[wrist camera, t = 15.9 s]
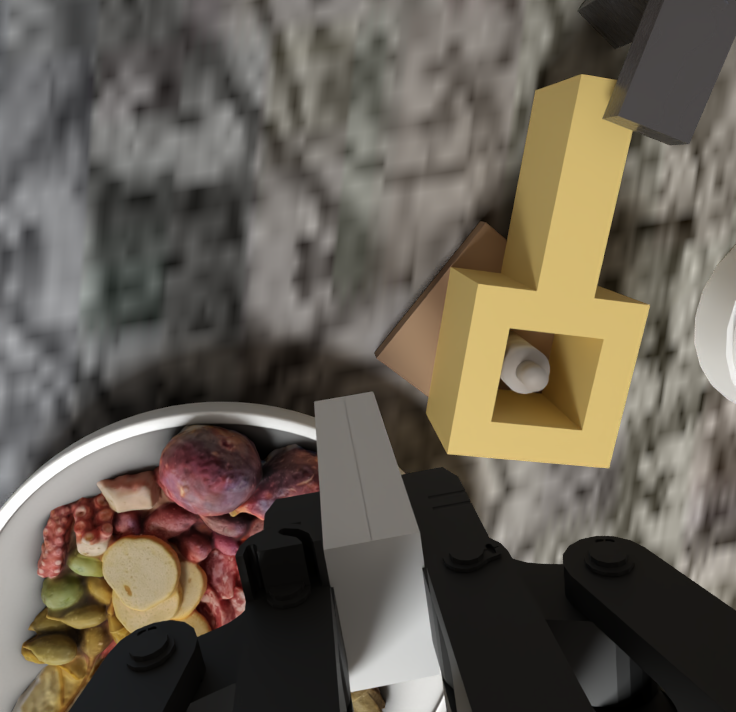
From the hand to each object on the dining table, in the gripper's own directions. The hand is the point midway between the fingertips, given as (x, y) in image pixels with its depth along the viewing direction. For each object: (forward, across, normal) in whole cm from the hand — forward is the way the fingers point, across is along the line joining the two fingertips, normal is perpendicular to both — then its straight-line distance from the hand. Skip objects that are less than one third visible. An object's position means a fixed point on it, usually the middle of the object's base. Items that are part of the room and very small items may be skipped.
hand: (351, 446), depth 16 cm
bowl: (+23, -9, -20) cm, 32 cm away
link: (+21, +12, -1) cm, 25 cm away
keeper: (+23, +17, +10) cm, 30 cm away
